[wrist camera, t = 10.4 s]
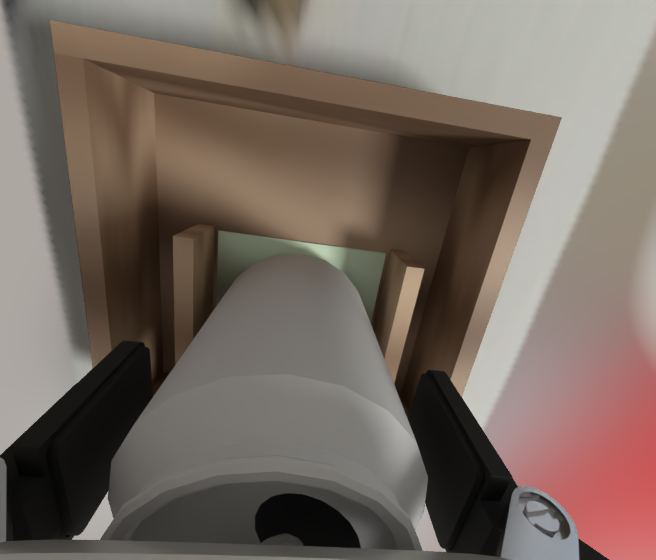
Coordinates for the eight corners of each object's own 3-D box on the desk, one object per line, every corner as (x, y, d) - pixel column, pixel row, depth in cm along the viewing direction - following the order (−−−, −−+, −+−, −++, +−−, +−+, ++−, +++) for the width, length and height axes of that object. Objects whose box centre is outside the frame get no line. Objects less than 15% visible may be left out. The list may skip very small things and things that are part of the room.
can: (383, 336, 18) (510, 626, 6) (272, 390, 19) (213, 729, 7) (322, 222, 15) (351, 366, 4) (197, 290, 16) (-61, 563, 5)
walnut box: (140, 72, 13) (49, 20, 9) (483, 133, 15) (561, 117, 10) (154, 375, 19) (102, 445, 14) (407, 397, 20) (436, 466, 16)
